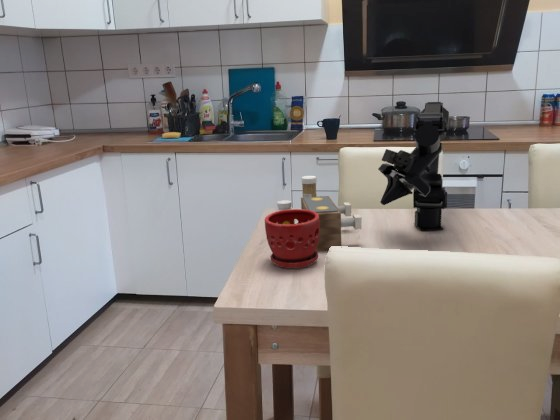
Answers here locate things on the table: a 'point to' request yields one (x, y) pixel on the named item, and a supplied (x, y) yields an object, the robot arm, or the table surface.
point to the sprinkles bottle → (309, 186)
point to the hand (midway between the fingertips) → (381, 203)
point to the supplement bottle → (284, 208)
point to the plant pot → (293, 237)
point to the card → (320, 204)
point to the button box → (327, 228)
